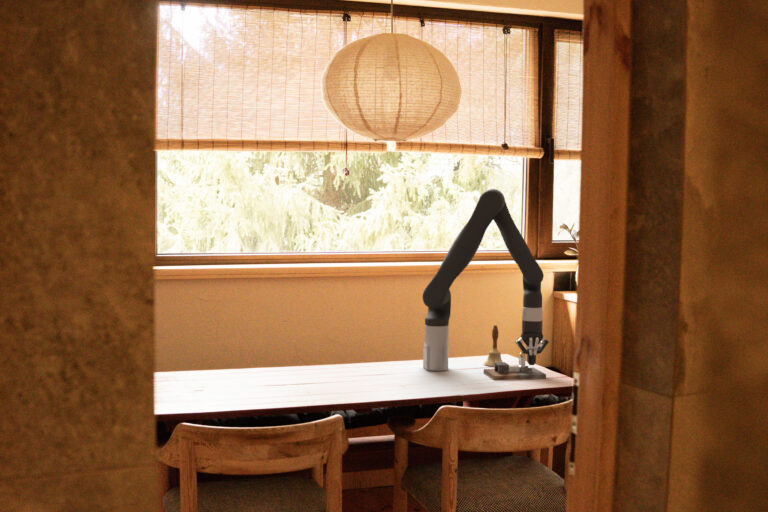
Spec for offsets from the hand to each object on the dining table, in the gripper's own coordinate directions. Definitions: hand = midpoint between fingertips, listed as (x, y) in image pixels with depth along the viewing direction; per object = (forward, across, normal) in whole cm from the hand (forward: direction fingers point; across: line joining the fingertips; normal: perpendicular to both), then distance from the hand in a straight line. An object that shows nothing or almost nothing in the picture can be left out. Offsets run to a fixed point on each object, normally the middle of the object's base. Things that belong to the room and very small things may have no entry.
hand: (531, 364), depth 265 cm
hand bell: (+4, -8, +20) cm, 22 cm away
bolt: (+2, -7, 0) cm, 7 cm away
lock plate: (+4, -7, 0) cm, 8 cm away
